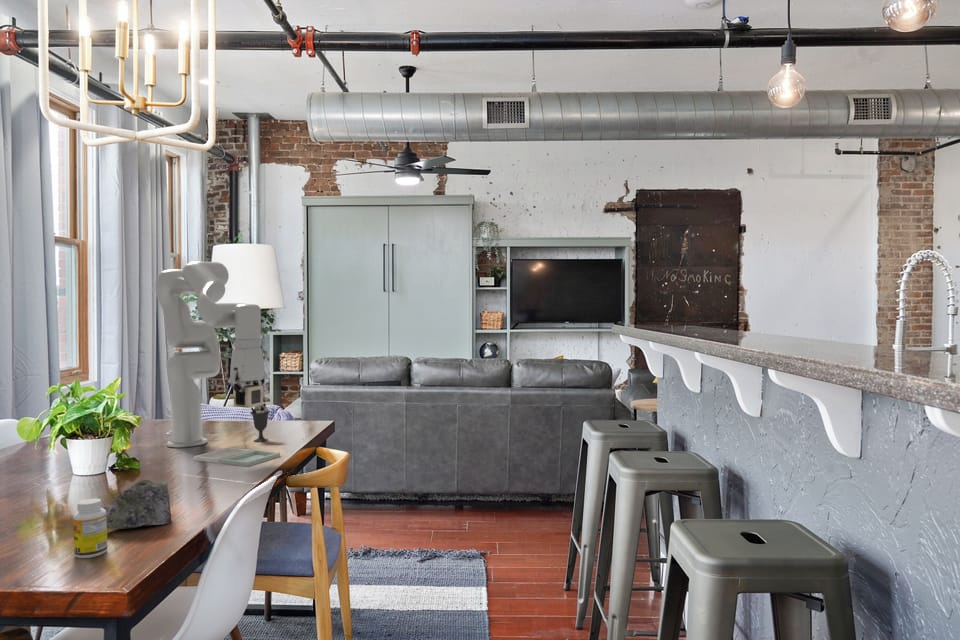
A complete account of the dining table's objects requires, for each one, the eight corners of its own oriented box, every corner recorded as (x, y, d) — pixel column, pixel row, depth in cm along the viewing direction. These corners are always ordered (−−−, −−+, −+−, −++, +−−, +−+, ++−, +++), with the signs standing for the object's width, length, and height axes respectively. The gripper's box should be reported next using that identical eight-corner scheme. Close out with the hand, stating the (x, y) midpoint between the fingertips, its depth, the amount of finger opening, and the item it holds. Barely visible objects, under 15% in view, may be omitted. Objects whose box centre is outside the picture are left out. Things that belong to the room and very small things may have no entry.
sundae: (274, 438, 240) (273, 396, 239) (266, 442, 233) (265, 399, 233) (256, 438, 241) (255, 396, 240) (247, 442, 234) (246, 399, 233)
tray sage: (221, 464, 202) (221, 459, 202) (255, 454, 214) (255, 450, 214) (247, 467, 197) (246, 462, 197) (280, 457, 210) (280, 452, 210)
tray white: (193, 461, 207) (193, 456, 207) (228, 451, 219) (228, 447, 219) (217, 464, 202) (217, 459, 202) (251, 454, 215) (251, 449, 215)
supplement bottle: (76, 551, 131) (74, 499, 131) (108, 547, 134) (107, 495, 133) (72, 561, 126) (70, 507, 126) (106, 556, 129) (104, 503, 128)
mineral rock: (94, 534, 141) (93, 487, 141) (122, 518, 152) (121, 473, 152) (156, 533, 141) (155, 486, 141) (179, 517, 152) (178, 473, 152)
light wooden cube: (233, 406, 207) (233, 386, 207) (248, 403, 212) (248, 383, 212) (249, 408, 204) (248, 387, 204) (263, 405, 210) (263, 385, 209)
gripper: (259, 342, 217) (259, 398, 218) (216, 346, 201) (217, 406, 202) (277, 343, 214) (277, 399, 214) (235, 347, 198) (236, 408, 199)
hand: (248, 402), depth 208 cm, fingers closed on light wooden cube, 5 cm apart
